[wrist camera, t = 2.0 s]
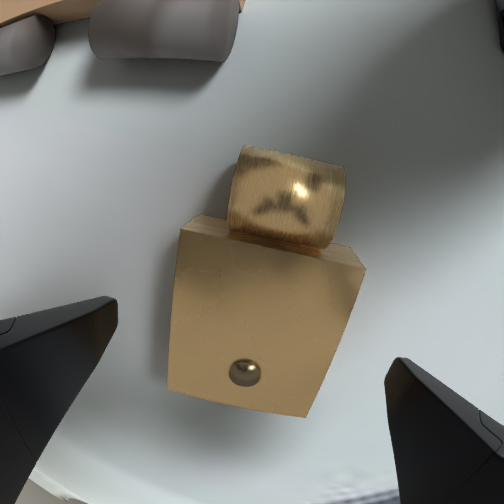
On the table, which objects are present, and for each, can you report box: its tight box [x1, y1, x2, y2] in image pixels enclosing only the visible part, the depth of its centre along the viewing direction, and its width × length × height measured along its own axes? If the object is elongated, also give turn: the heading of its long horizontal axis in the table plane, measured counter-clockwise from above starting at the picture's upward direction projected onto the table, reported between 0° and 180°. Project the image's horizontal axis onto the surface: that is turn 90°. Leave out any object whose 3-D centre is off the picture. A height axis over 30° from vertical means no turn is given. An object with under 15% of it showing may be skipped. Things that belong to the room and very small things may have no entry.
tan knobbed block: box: [167, 145, 366, 418], centre depth 11 cm, size 10×6×3 cm, turn 169°
